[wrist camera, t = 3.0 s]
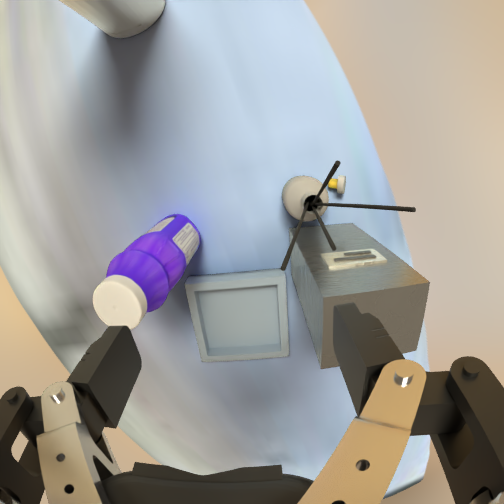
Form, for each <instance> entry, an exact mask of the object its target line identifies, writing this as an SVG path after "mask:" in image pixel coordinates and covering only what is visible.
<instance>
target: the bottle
mask: <svg viewBox="0 0 504 504" xmlns="http://www.w3.org/2000/svg"><path fill="white" fill-rule="evenodd" d="M200 240H201V238H200V233H199V231H198V229H197V228H196V226H195V225H194V224H193V223H192V222H191V221H190V220H189V219H188V218H187V217H185V216H184V215H181V214H173V215H169V216H167V217H165V218H164V219H162V220H161V221H159V222H158V223H157V224H156V225H155V226H154V227H153V228H152V229H150V230H149V231H148V232H147V233H146V234H144V235H143V236H141V237H140V238H138V239H137V240H135V241H134V242H133V243H132V244H131V245H129V246H128V247H127V248H126V249H125V251H124V252H122V253H120V254H118V255H117V256H116V257H114V258H113V260H112V261H111V262H110V265H109V267H108V270H107V276H106V278H105V279H104V280H103V281H102V283H101V284H99V285H98V286H97V288H96V289H95V291H94V294H93V305H94V308H95V311H96V313H97V315H98V316H99V318H100V319H101V320H102V321H103V322H104V323H105V324H106V325H108V326H121V325H126V326H128V327H129V329H130V330H131V329H133V328H135V327H136V326H137V325H138V324H139V323H140V321H141V320H142V318H143V317H144V316H145V314H146V313H147V312H151V311H154V310H156V309H158V308H159V307H160V306H161V305H162V304H163V303H164V301H165V300H166V298H167V295H168V292H169V291H170V290H171V289H172V288H173V287H174V286H175V285H176V284H177V283H178V281H179V280H180V279H181V277H182V275H183V273H184V270H185V269H186V267H187V265H188V264H189V262H190V260H191V258H192V257H193V255H194V254H195V252H196V251H197V249H198V248H199V245H200Z"/></svg>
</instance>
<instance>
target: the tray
mask: <svg viewBox="0 0 504 504" xmlns="http://www.w3.org/2000/svg"><path fill="white" fill-rule="evenodd" d="M185 289H186V294H187V299H188V304H189V309H190V313H191V318H192V322H193V327H194V331H195V335H196V340H197V344H198V348H199V352H200V356H201V360H202V362H217V361H237V360H252V359H264V358H276V357H286V356H289V341H288V317H287V297H286V279H285V273H284V271H282V270H281V268H278V269H267V270H256V271H245V272H233V273H222V274H210V275H197V276H188V278H187V280H186V282H185Z"/></svg>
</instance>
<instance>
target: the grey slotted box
mask: <svg viewBox="0 0 504 504" xmlns="http://www.w3.org/2000/svg"><path fill="white" fill-rule="evenodd" d="M325 227H326V229H327V231H328V233H329V235H330V236H331V238H332V240H333V242H334V244H335V246H336V250H335V251H333V250H332V249H331V247H330V245H329V243H328V240H327V238H326V236H325V234H324V232H323V230H322V228H321V226H309V227H301V228H300V231H299V233H298V236H297V239H296V242H295V245H294V247H293V250H292V253H291V275H292V278H293V281H294V284H295V287H296V290H297V293H298V296H299V299H300V302H301V306H302V309H303V312H304V315H305V318H306V321H307V325H308V328H309V331H310V334H311V338H312V341H313V344H314V347H315V351H316V354H317V357H318V361H319V364H320V367H321V369H325V368H331V367H338V366H339V363H338V361H337V358H336V355H335V352H334V347H333V308H334V305H339V304H345V303H351V302H354V303H355V304H356V306H357V308H358V309H359V311H360V312H361V314H364V313H370V314H372V315H373V316H375V317H376V318H378V319H379V320H380V322H381V323H382V325H383V326H384V329H386V331H387V332H388V334H389V336H390V337H391V338H392V340H393V341H394V343H395V344H396V346H397V347H398V349H399V350H400V352H401V353H402V354H403V353H407V352H412V351H416V349H417V345H418V341H419V337H420V332H421V328H422V323H423V318H424V313H425V307H426V302H427V296H428V290H429V284H430V282H429V281H428V280H426V279H425V278H424V277H423V276H422V275H420V274H419V273H418V272H417V271H415V270H414V269H413V268H412V267H410V266H409V265H408V264H407V263H405V262H404V261H403V260H401V259H400V258H399V257H398V256H396V255H395V254H394V253H392V252H391V251H390V250H388V249H387V248H386V247H384V246H383V245H382V244H380V243H379V242H378V241H376V240H375V239H374V238H372V237H371V236H370V235H368V234H367V233H365V232H364V231H363V230H361V229H360V228H358V227H357V226H356V225H354V224H353V223H347V224H334V225H325ZM295 231H296V228H289V238H290V244H291V241H292V239H293V236H294V234H295Z"/></svg>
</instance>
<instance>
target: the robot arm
mask: <svg viewBox="0 0 504 504" xmlns="http://www.w3.org/2000/svg"><path fill="white" fill-rule="evenodd" d="M59 1H61V2H62V3H64V4H65V5H67V6H68V7H70V8H71V9H73V10H74V11H76V12H77V13H78V14H80V15H81V16H83V17H84V18H86V19H87V20H88V21H90V22H91V23H93V24H94V25H95V26H97V27H98V28H99V29H101V30H102V31H104V32H105V33H106V34H108V35H109V36H112V37H115V38H126V37H131V36H134V35H136V34H139V33H141V32H142V31H144V30H146V29H147V28H149V27H150V26H151V25H152V24H153V23H154V22H155V21H156V20H157V19H158V18H159V16H160V15H161V13H162V11H163V9H164V6H165V0H59ZM333 347H334V352H335V355H336V358H337V361H338V363H339V366H340V369H341V371H342V374H343V377H344V380H345V382H346V385H347V388H348V391H349V393H350V396H351V399H352V402H353V405H354V407H355V410H356V413H357V416H358V417H357V416H356V417H355V418H354V419H353V421H352V422H351V424H350V426H349V427H348V429H347V431H346V433H345V434H344V436H343V438H342V439H341V441H340V443H339V444H338V446H337V447H336V449H335V451H334V452H333V454H332V455H331V457H330V459H329V460H328V462H327V463H326V465H325V466H324V468H323V469H322V471H321V472H320V473H319V475H318V476H317V478H316V479H315V481H312V480H310V479H307V478H304V477H300V476H295V475H290V474H283V473H282V466H281V465H273V466H261V467H243V468H238V469H234V470H230V471H225V472H221V473H216V474H210V475H204V476H203V475H197V474H193V473H189V472H186V471H182V470H179V469H176V468H173V467H169V466H164V465H154V464H146V463H139V462H135V464H134V467H133V471H129V472H123V473H122V472H121V470H120V469H119V467H118V464H117V462H116V460H115V458H114V455H113V453H112V451H111V448H110V446H109V443H108V441H107V438H106V436H105V434H104V433H103V432H102V431H103V429H104V427H109V428H116V427H117V425H118V422H119V420H120V418H121V415H122V413H123V410H124V408H125V405H126V403H127V401H128V398H129V396H130V393H131V391H132V389H133V386H134V384H135V382H136V379H137V377H138V375H139V373H140V370H141V357H140V354H139V351H138V349H137V346H136V344H135V341H134V339H133V336H132V334H131V331H130V329H129V327H128V326H126V325H121V326H109V327H108V328H107V329H106V331H105V332H104V334H103V335H102V337H101V338H99V339H98V340H97V341H95V342H94V343H93V344H92V345H91V346H90V347H89V349H88V350H87V351H86V354H84V356H83V357H82V359H81V361H80V362H79V363H78V365H77V366H76V367H75V369H74V370H73V372H72V373H71V375H70V376H69V378H68V380H67V381H66V382H63V381H62V382H56V383H54V384H52V385H50V386H49V387H47V388H46V389H45V391H44V392H43V394H42V396H38V397H30V396H29V395H28V393H27V392H26V390H25V389H24V388H23V387H14V388H11V389H9V390H8V391H7V392H6V393H5V394H4V395H3V396H2V398H1V399H0V504H40V501H41V498H42V495H43V493H44V490H46V495H47V499H48V503H49V504H380V502H381V501H382V499H383V497H384V495H385V493H386V491H387V489H388V487H389V485H390V482H391V480H392V478H393V476H394V474H395V471H396V469H397V467H398V465H399V462H400V460H401V457H402V455H403V452H404V450H405V447H406V445H407V442H408V439H409V436H415V435H430V437H431V439H432V442H433V444H434V447H435V449H436V451H437V454H438V457H439V459H440V462H441V464H442V467H443V470H444V472H445V475H446V478H447V481H448V483H449V486H450V489H451V492H452V495H453V498H454V501H455V504H504V388H503V386H502V385H501V383H500V382H499V381H498V379H497V378H496V377H495V375H494V374H493V373H492V371H491V370H490V369H489V367H488V366H487V365H486V364H485V363H484V362H483V361H482V360H480V359H478V358H475V357H468V356H467V357H461V358H459V359H457V360H455V361H454V362H453V364H452V366H451V368H450V371H442V372H425V370H424V368H423V367H422V366H421V365H420V364H418V363H416V362H414V361H411V360H405V358H404V356H403V355H402V353H401V352H400V350H399V349H398V347H397V346H396V344H395V343H394V341H393V340H392V338H391V337H390V336H389V334H388V332H387V331H386V329H384V326H383V325H382V323H381V322H380V320H379V319H378V318H376V317H375V316H373V315H372V314H370V313H364V314H361V312H360V311H359V309H358V308H357V306H356V304H355V303H354V302H351V303H345V304H339V305H334V308H333ZM20 431H21V432H22V434H23V435H24V436H25V437H26V438H27V439H28V440H29V441H28V443H27V445H26V447H25V449H24V452H23V454H22V456H21V458H20V460H19V462H17V461H16V460H15V459H14V457H13V456H12V453H11V447H12V445H13V443H14V441H15V439H16V437H17V435H18V433H19V432H20Z"/></svg>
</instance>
